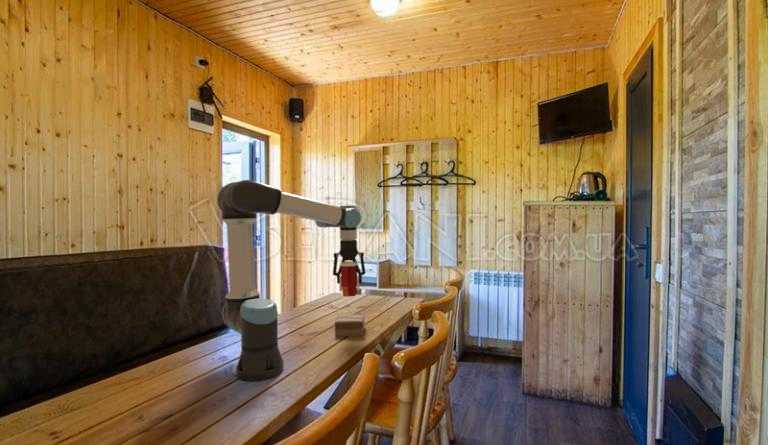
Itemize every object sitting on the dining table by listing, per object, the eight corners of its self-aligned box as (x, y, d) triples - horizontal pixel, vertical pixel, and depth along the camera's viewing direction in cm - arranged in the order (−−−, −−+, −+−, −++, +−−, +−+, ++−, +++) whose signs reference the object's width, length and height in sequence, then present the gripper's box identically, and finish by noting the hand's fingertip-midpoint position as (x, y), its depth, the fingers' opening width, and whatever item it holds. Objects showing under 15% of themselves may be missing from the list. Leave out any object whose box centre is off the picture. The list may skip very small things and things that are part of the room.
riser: (362, 335, 158) (362, 321, 158) (335, 336, 158) (334, 321, 158) (364, 327, 170) (364, 314, 170) (338, 327, 170) (338, 314, 170)
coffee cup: (360, 293, 168) (359, 260, 168) (357, 297, 160) (356, 262, 160) (342, 293, 169) (341, 260, 169) (338, 297, 161) (337, 263, 160)
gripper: (371, 238, 168) (372, 288, 168) (327, 239, 168) (328, 289, 168) (370, 239, 160) (371, 291, 160) (324, 240, 160) (326, 292, 161)
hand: (349, 290), depth 164 cm, fingers closed on coffee cup, 7 cm apart
